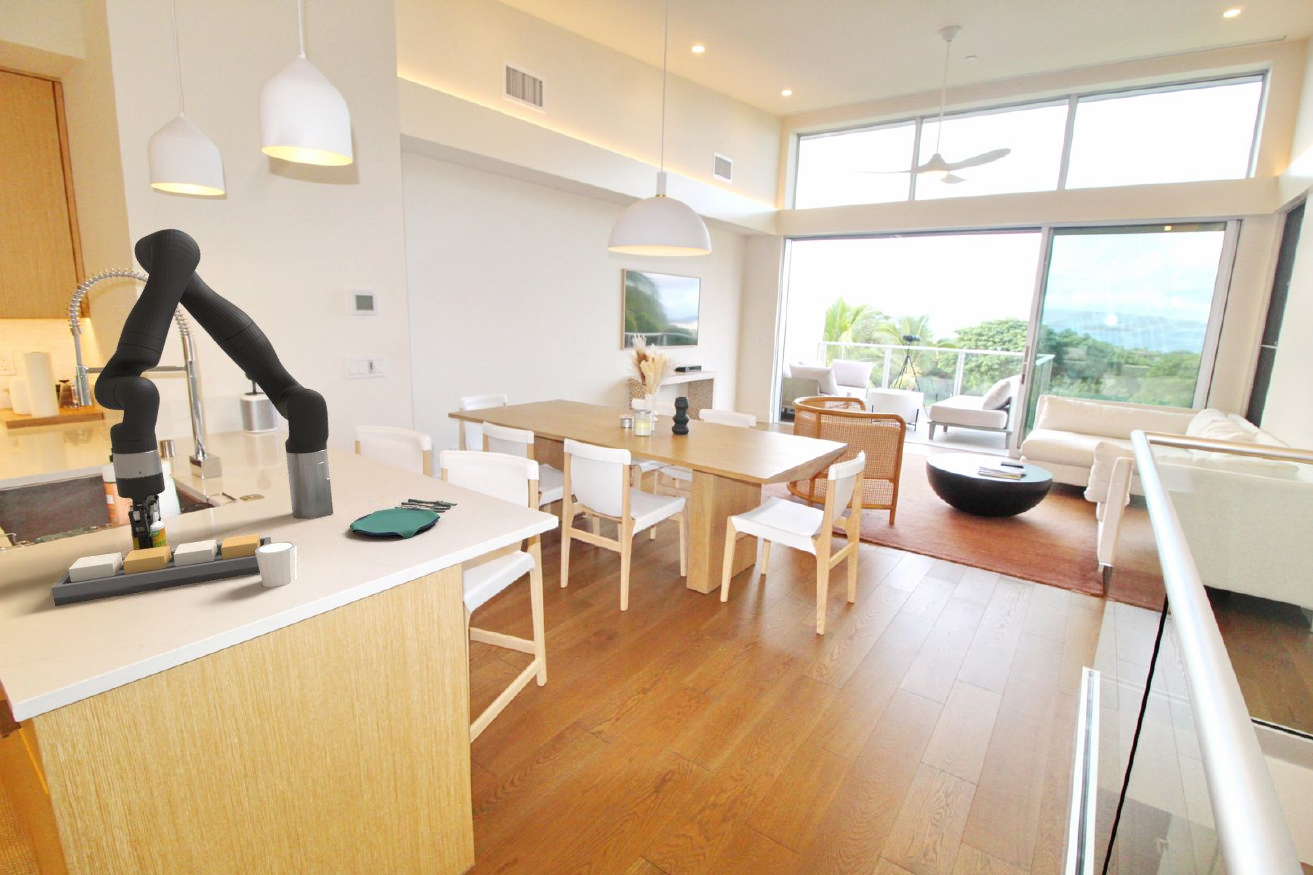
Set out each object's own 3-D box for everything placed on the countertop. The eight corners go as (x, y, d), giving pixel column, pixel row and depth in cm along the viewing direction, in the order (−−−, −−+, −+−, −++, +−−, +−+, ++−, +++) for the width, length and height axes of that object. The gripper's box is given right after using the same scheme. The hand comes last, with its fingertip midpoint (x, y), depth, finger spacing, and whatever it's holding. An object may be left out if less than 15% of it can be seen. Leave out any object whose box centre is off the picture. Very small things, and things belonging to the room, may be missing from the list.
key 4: (122, 564, 116) (120, 552, 116) (114, 575, 111) (112, 563, 111) (81, 570, 113) (79, 557, 113) (71, 582, 108) (68, 569, 108)
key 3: (171, 557, 120) (169, 545, 120) (165, 568, 115) (163, 555, 115) (132, 563, 117) (130, 550, 117) (124, 574, 112) (122, 561, 112)
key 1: (260, 544, 127) (259, 533, 127) (258, 554, 122) (257, 542, 122) (226, 549, 125) (224, 538, 124) (222, 559, 119) (221, 547, 119)
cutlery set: (333, 538, 141) (332, 528, 140) (404, 503, 170) (403, 495, 170) (412, 544, 138) (411, 534, 138) (470, 507, 167) (470, 499, 167)
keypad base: (272, 551, 131) (270, 536, 131) (269, 571, 121) (267, 555, 121) (77, 581, 116) (74, 564, 115) (54, 606, 106) (51, 587, 105)
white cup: (270, 573, 120) (267, 541, 119) (306, 573, 121) (303, 540, 119) (251, 588, 113) (246, 554, 112) (289, 587, 114) (285, 553, 113)
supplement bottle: (149, 563, 124) (142, 519, 122) (128, 561, 125) (121, 517, 124) (175, 554, 130) (168, 511, 128) (154, 551, 131) (148, 509, 129)
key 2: (217, 550, 124) (215, 539, 123) (213, 560, 119) (211, 549, 118) (180, 556, 121) (179, 544, 120) (175, 566, 116) (173, 554, 115)
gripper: (154, 477, 120) (166, 557, 123) (168, 463, 132) (179, 535, 135) (105, 482, 116) (118, 564, 119) (124, 466, 128) (136, 541, 131)
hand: (150, 548), depth 127 cm, fingers closed on supplement bottle, 5 cm apart
